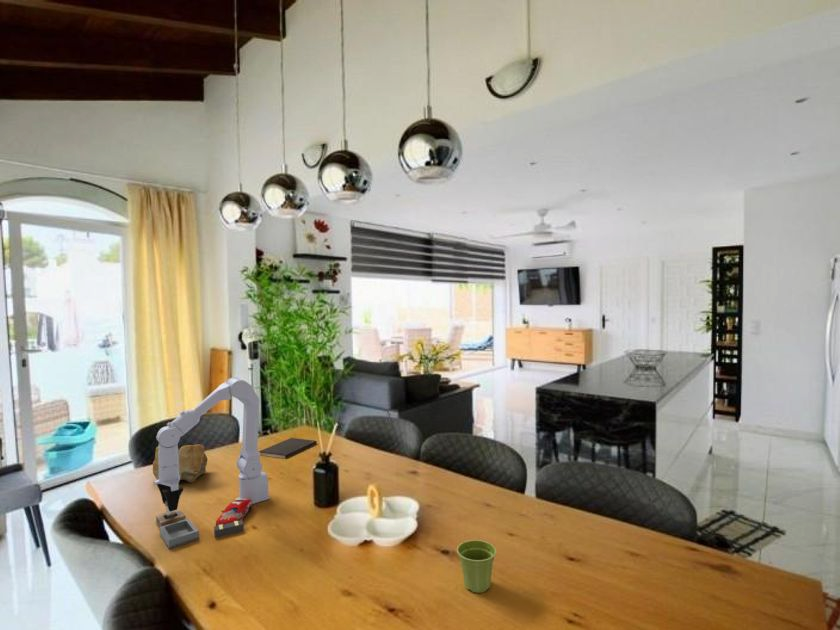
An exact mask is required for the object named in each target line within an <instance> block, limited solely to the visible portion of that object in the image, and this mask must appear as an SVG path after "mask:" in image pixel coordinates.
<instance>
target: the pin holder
mask: <svg viewBox="0 0 840 630" xmlns="http://www.w3.org/2000/svg"><path fill="white" fill-rule="evenodd" d="M185 519H187V518H186V514H185V513H184V512H183V511H182V510H181V509H180V508H177V510H175V517H172V518H169V519H166V512H163V513H159V514H157V515H155V523H156V524H157V526H158V528H160V527H162V526H165V525H168V524H172V523H175V522H178V521H181V520H185Z"/></svg>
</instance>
